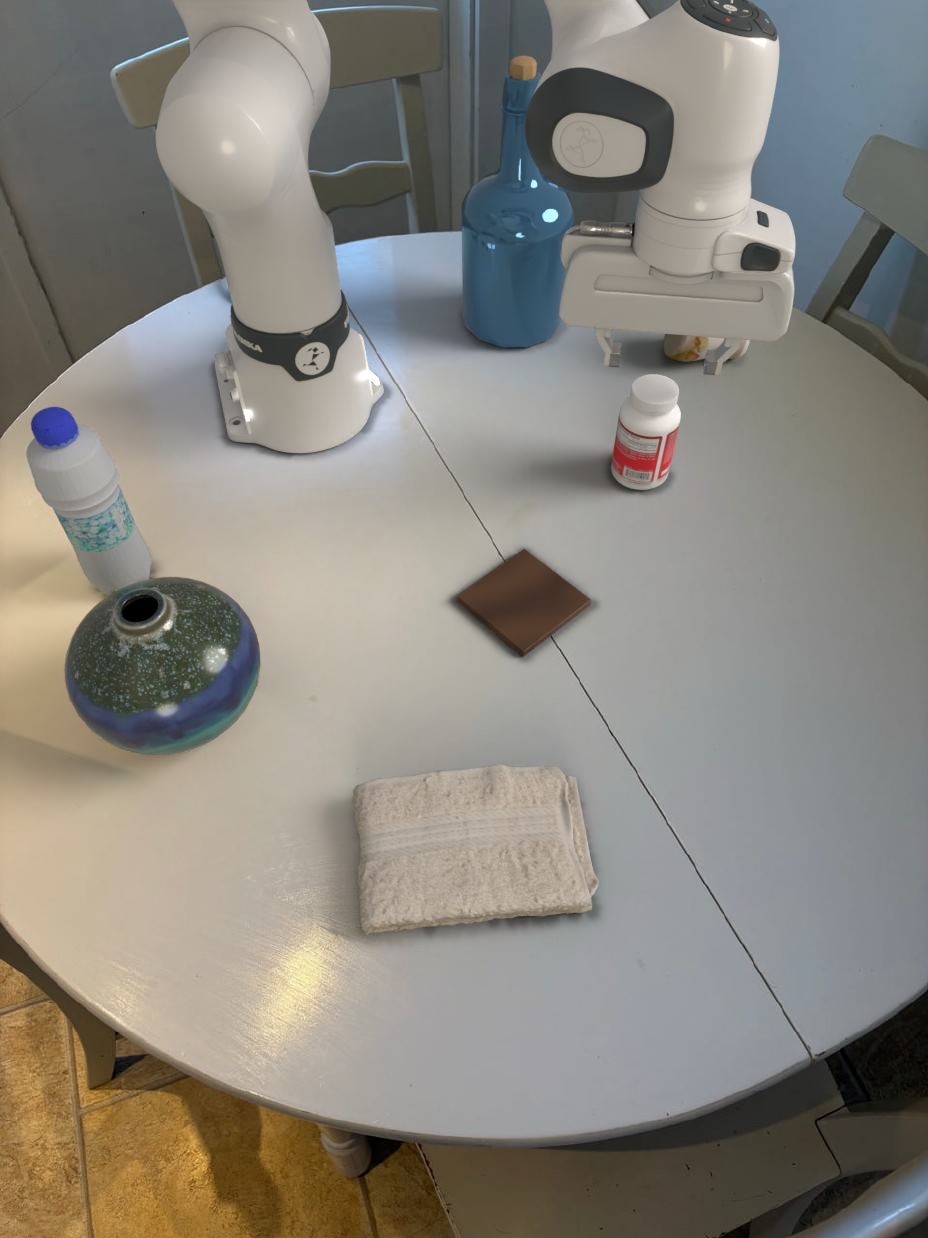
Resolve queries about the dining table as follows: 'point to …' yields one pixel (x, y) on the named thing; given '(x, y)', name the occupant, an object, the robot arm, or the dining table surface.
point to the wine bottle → (514, 234)
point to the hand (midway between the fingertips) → (660, 367)
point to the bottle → (87, 500)
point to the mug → (695, 347)
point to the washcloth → (471, 847)
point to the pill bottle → (646, 433)
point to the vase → (163, 665)
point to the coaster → (523, 601)
